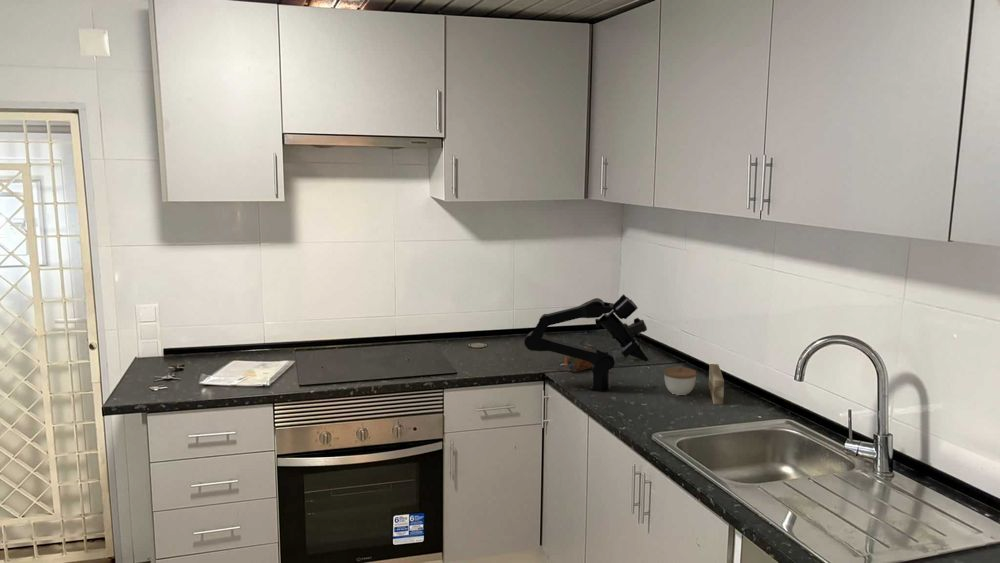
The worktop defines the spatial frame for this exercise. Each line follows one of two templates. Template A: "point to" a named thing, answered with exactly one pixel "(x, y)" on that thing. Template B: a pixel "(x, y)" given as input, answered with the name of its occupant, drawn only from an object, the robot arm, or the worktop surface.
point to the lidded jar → (680, 380)
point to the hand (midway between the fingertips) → (647, 360)
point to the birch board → (716, 384)
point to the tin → (576, 363)
